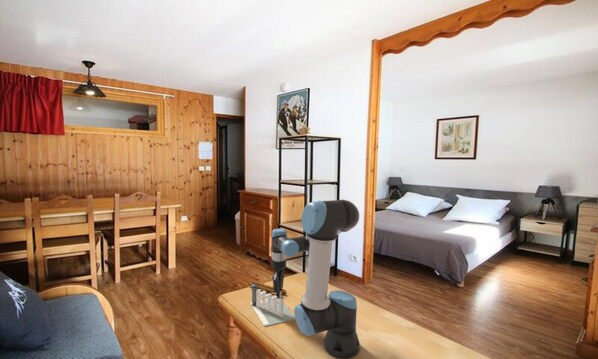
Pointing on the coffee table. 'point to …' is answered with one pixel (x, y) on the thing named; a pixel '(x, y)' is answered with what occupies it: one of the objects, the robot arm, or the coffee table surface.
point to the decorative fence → (265, 287)
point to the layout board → (272, 315)
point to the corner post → (254, 294)
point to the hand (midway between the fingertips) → (278, 303)
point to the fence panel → (269, 298)
